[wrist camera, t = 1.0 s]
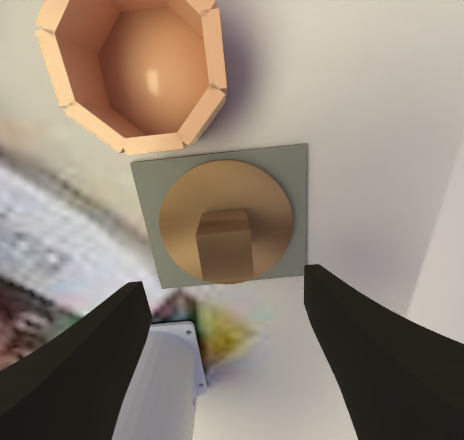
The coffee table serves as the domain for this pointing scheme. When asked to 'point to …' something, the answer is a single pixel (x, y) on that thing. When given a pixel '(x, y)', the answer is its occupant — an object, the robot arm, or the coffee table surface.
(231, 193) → the lid
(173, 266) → the mat
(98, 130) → the bowl
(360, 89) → the coffee table surface
